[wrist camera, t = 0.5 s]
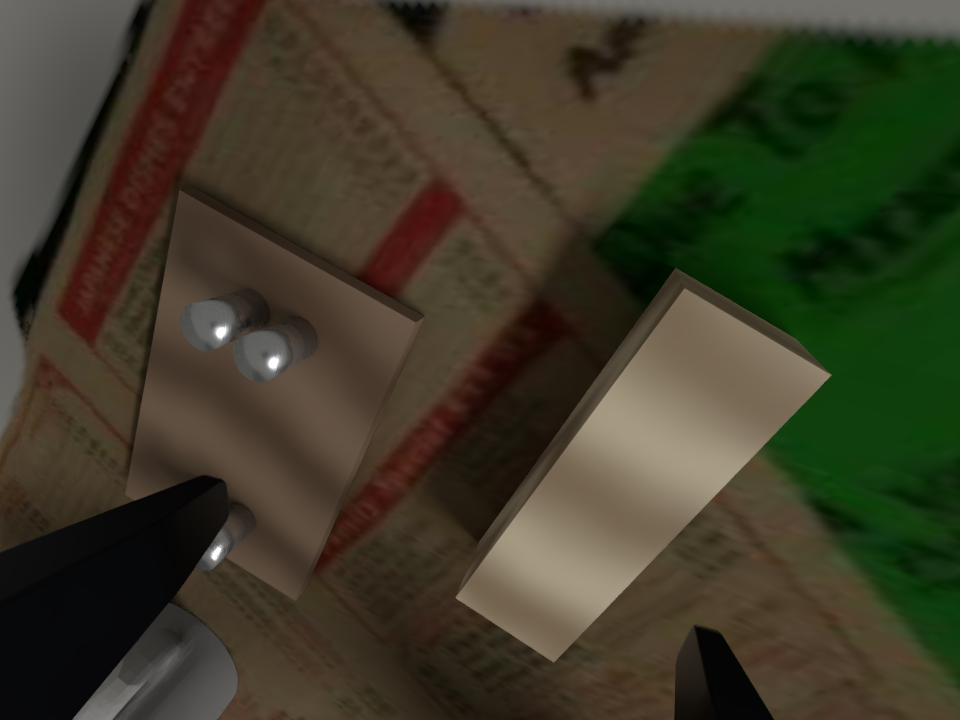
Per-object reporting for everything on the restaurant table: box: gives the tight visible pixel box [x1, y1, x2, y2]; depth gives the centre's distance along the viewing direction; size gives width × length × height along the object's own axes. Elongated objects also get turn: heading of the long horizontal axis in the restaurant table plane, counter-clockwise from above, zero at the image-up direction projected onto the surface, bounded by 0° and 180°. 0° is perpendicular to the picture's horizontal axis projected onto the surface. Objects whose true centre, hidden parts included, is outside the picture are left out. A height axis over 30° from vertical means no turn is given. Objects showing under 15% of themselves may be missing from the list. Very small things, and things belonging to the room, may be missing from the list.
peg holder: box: [125, 189, 425, 601], centre depth 25 cm, size 19×12×4 cm, turn 155°
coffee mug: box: [72, 603, 238, 720], centre depth 31 cm, size 13×10×10 cm
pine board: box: [456, 268, 831, 662], centre depth 21 cm, size 16×5×4 cm, turn 152°
